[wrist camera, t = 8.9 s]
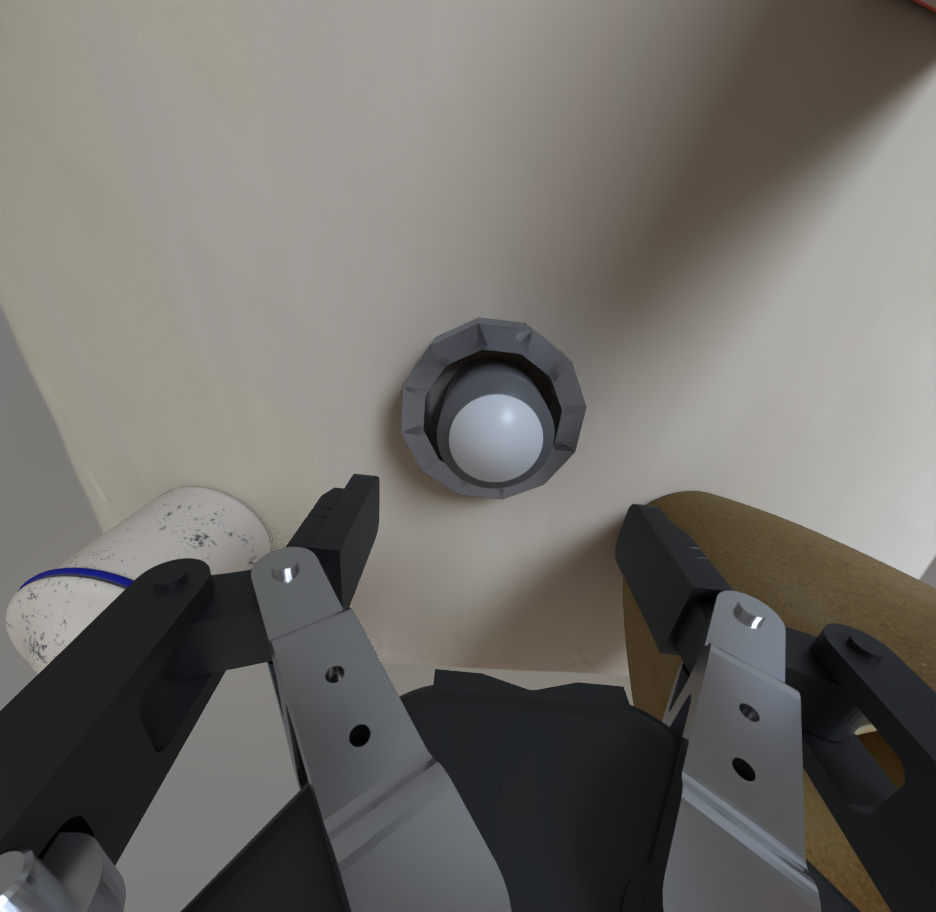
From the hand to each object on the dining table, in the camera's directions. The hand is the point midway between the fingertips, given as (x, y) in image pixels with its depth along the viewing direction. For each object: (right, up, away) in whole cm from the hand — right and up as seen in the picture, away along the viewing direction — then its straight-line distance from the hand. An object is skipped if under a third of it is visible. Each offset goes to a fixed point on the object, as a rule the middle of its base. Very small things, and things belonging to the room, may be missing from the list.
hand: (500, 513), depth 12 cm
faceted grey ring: (0, +5, +10) cm, 12 cm away
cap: (0, +5, +10) cm, 12 cm away
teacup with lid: (-18, -4, +15) cm, 24 cm away
